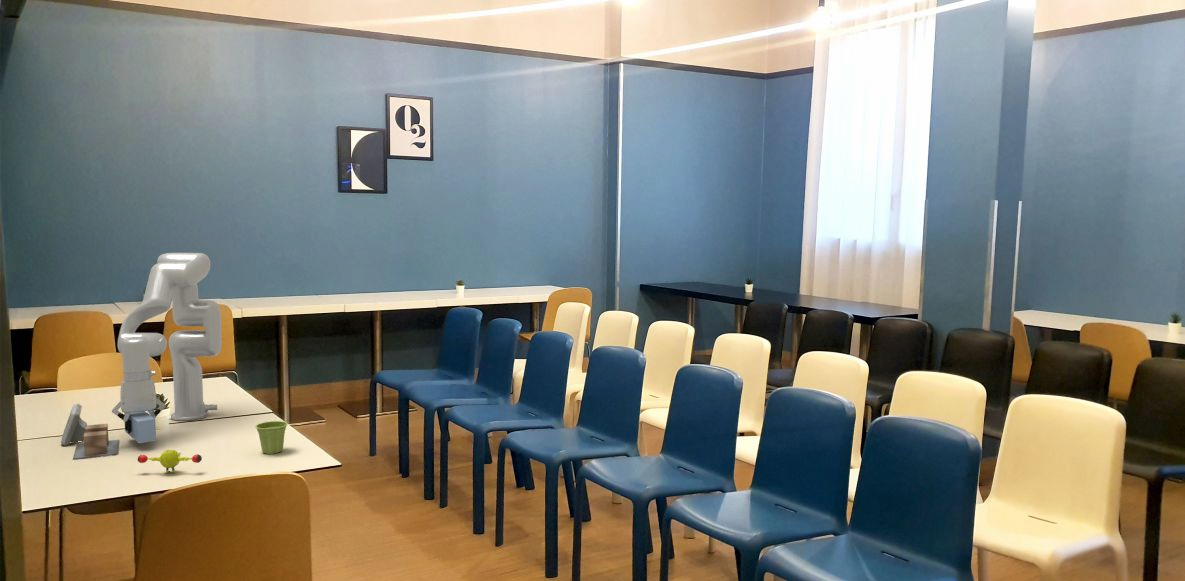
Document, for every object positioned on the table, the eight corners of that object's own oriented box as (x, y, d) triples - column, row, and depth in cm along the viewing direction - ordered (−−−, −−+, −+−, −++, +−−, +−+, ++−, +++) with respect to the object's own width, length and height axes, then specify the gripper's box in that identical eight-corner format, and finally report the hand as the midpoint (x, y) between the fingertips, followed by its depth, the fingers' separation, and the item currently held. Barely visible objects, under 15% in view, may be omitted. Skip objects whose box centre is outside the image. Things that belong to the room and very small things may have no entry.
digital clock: (65, 434, 296) (63, 403, 295) (95, 432, 299) (93, 401, 298) (50, 447, 281) (48, 414, 280) (82, 445, 283) (80, 412, 282)
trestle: (119, 440, 289) (118, 421, 288) (117, 454, 273) (116, 434, 272) (76, 445, 283) (75, 425, 283) (72, 459, 267) (71, 439, 267)
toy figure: (206, 469, 258) (205, 447, 258) (198, 475, 253) (197, 452, 252) (143, 470, 258) (142, 447, 257) (134, 475, 252) (133, 452, 251)
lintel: (142, 429, 292) (140, 408, 291) (156, 440, 280) (155, 418, 279) (125, 431, 288) (124, 411, 288) (139, 443, 277) (137, 421, 276)
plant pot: (254, 457, 271) (253, 429, 270) (257, 448, 280) (256, 421, 279) (287, 454, 274) (286, 427, 273) (289, 446, 283) (288, 420, 282)
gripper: (166, 371, 289) (169, 424, 291) (106, 376, 281) (110, 431, 283) (167, 376, 282) (170, 430, 284) (105, 381, 274) (109, 437, 277)
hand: (140, 430), depth 284 cm, fingers closed on lintel, 5 cm apart
